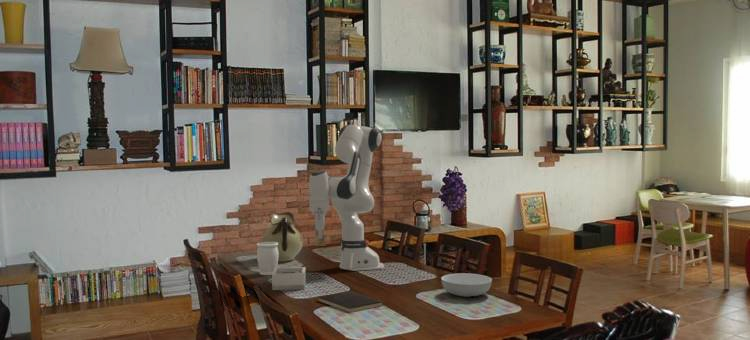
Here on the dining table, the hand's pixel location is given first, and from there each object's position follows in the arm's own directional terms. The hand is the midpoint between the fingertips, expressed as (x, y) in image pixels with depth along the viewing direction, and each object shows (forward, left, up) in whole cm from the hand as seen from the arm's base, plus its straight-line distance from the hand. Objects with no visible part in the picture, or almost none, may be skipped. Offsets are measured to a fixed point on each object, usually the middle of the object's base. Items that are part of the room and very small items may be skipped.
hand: (320, 237), depth 294 cm
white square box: (+14, +2, -21) cm, 25 cm away
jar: (+26, -26, -21) cm, 42 cm away
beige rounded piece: (+21, -62, -21) cm, 69 cm away
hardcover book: (-12, +35, -22) cm, 43 cm away
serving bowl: (-61, +27, -22) cm, 70 cm away
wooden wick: (0, 0, -4) cm, 4 cm away
